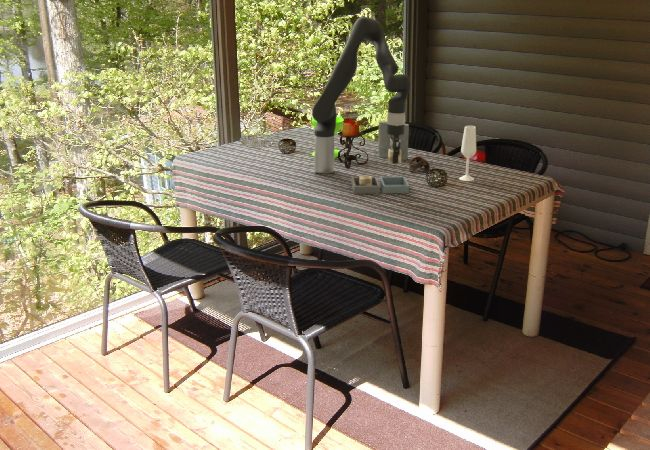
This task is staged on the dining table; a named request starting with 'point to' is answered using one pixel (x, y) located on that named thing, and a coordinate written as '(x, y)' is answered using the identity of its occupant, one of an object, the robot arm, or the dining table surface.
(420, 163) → the pottery mug
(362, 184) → the blank cube
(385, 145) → the hip flask
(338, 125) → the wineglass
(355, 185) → the charcoal bin
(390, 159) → the letter cube
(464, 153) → the champagne flute
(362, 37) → the robot arm
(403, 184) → the slate bin
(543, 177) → the dining table surface
